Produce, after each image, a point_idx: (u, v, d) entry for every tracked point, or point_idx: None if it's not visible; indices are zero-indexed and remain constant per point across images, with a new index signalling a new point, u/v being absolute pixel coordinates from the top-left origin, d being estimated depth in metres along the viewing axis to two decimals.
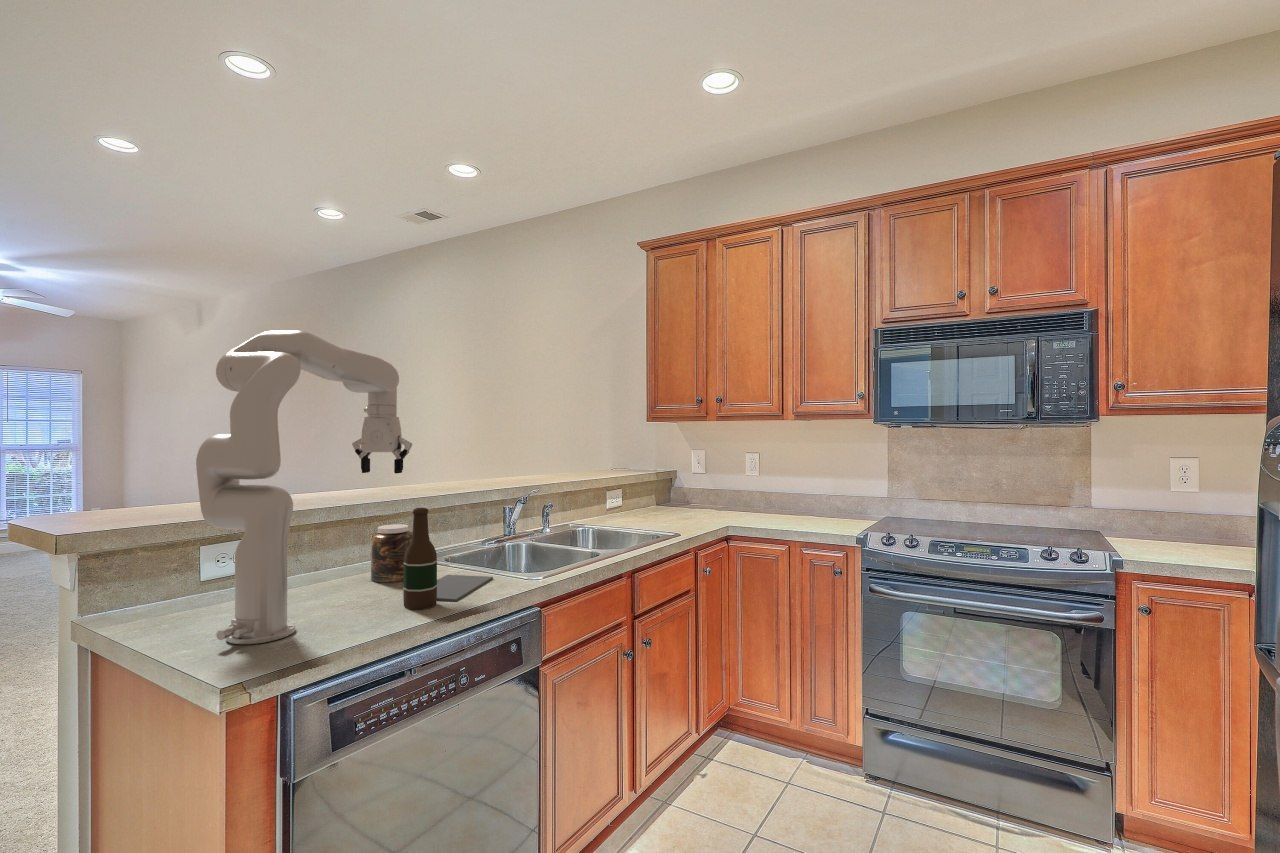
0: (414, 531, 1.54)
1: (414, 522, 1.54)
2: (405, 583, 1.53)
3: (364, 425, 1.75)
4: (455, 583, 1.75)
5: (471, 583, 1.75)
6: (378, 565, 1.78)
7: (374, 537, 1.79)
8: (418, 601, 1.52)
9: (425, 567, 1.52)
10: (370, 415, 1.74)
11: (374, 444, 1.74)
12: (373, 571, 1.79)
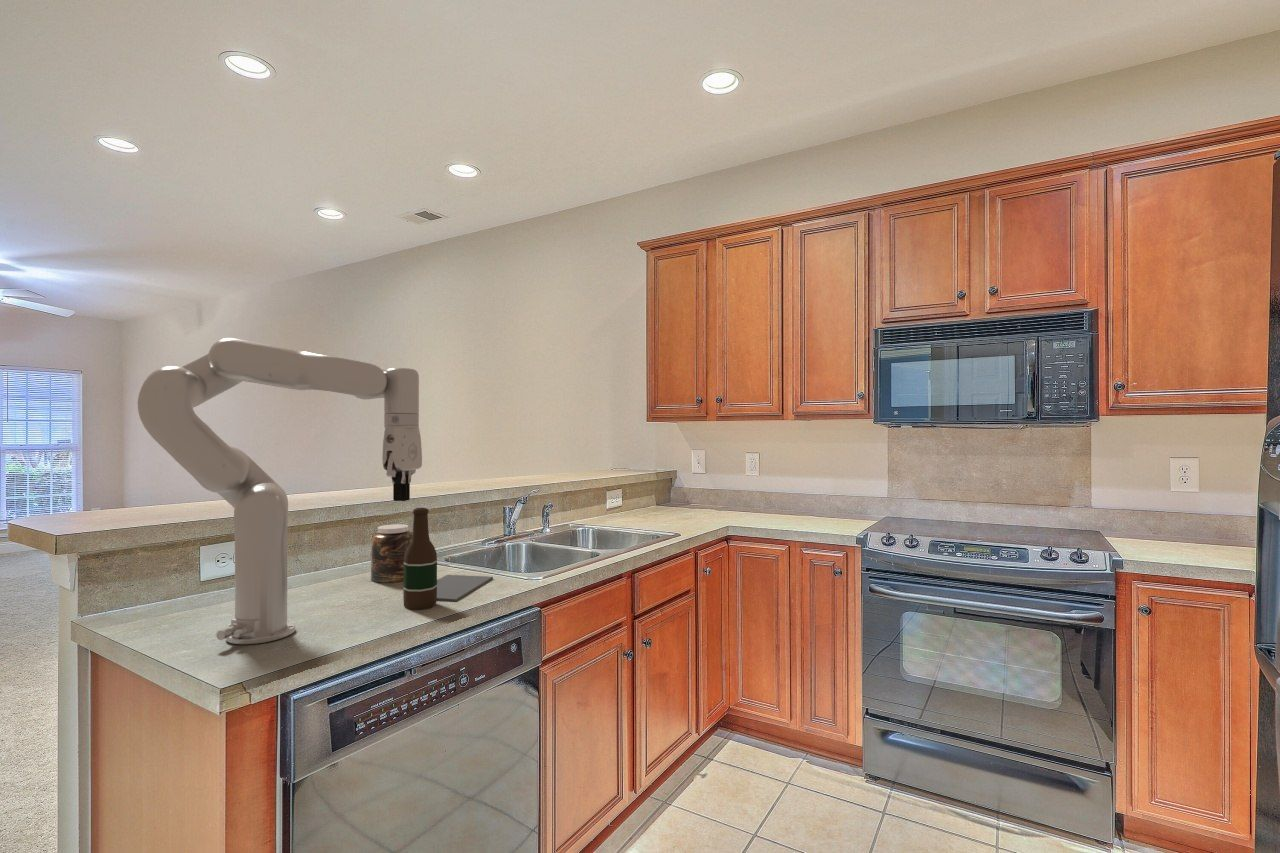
0: (414, 531, 1.54)
1: (414, 522, 1.54)
2: (405, 583, 1.53)
3: (402, 438, 1.42)
4: (455, 583, 1.75)
5: (471, 583, 1.75)
6: (378, 565, 1.78)
7: (374, 537, 1.79)
8: (418, 601, 1.52)
9: (425, 567, 1.52)
10: (411, 426, 1.44)
11: (411, 460, 1.45)
12: (373, 571, 1.79)
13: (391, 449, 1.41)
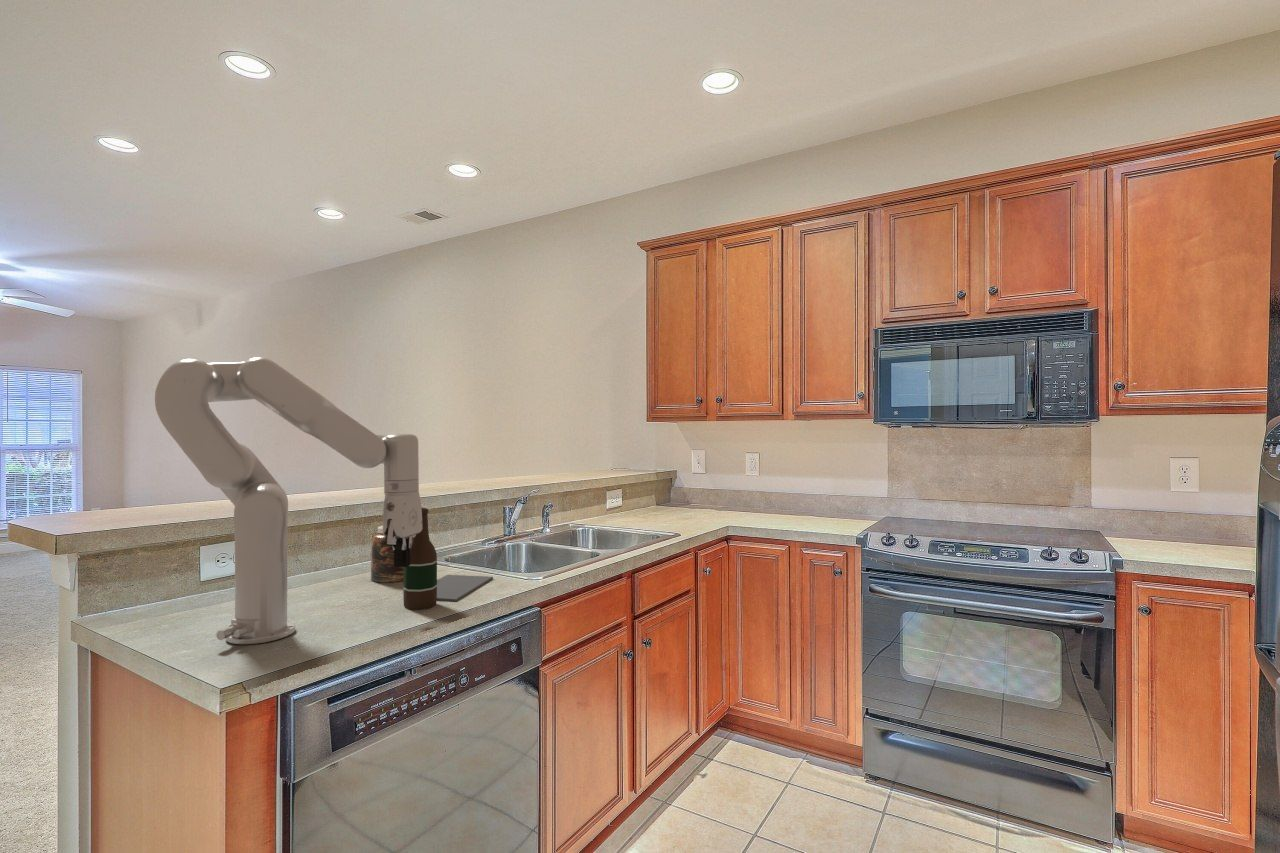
0: None
1: None
2: (405, 583, 1.53)
3: (403, 506, 1.42)
4: (455, 583, 1.75)
5: (471, 583, 1.75)
6: (378, 565, 1.78)
7: (374, 537, 1.79)
8: (418, 601, 1.52)
9: (425, 567, 1.52)
10: (411, 492, 1.44)
11: (412, 526, 1.45)
12: (373, 571, 1.79)
13: (391, 517, 1.41)
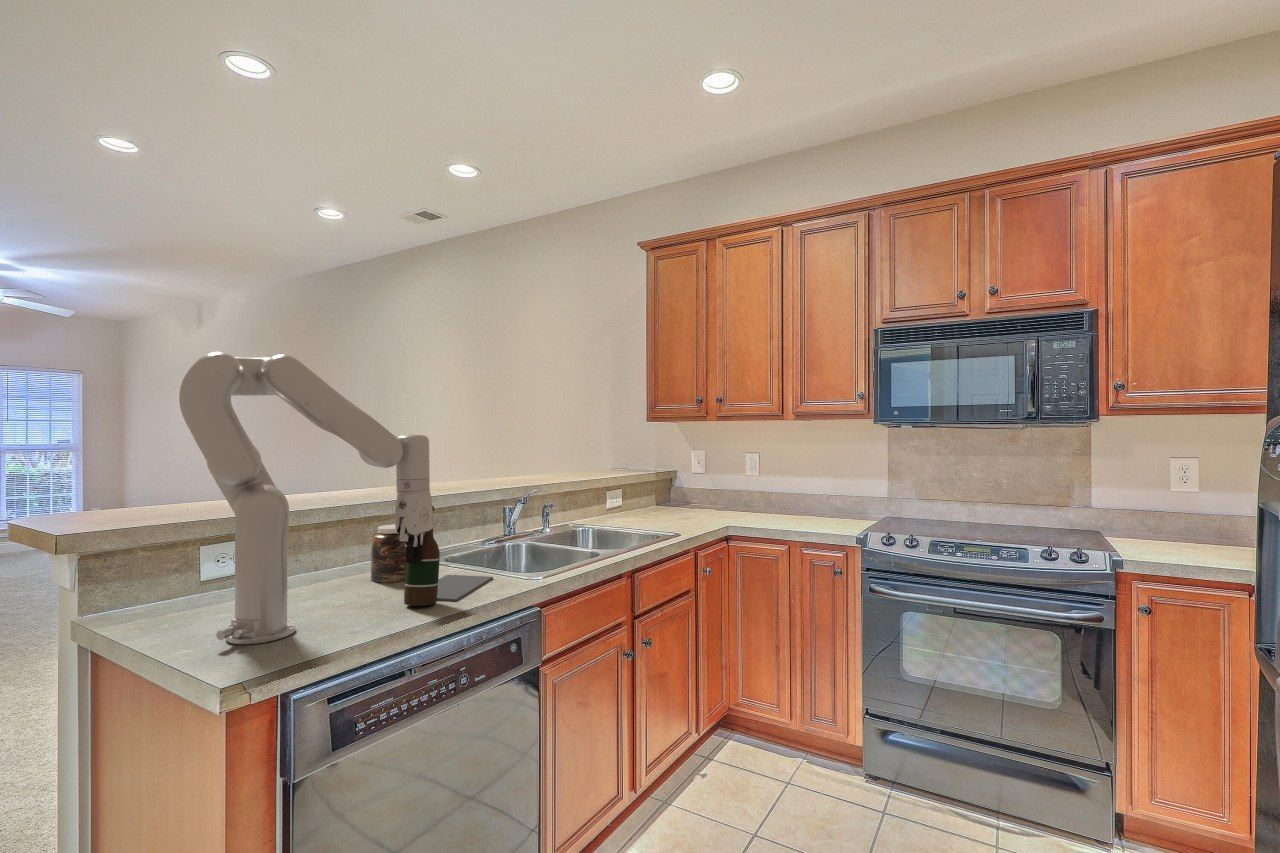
0: None
1: None
2: (407, 579, 1.54)
3: (414, 504, 1.47)
4: (455, 583, 1.75)
5: (471, 583, 1.75)
6: (378, 565, 1.78)
7: (374, 537, 1.79)
8: (419, 597, 1.52)
9: (428, 563, 1.54)
10: (423, 491, 1.49)
11: (423, 524, 1.50)
12: (373, 571, 1.79)
13: (403, 515, 1.46)
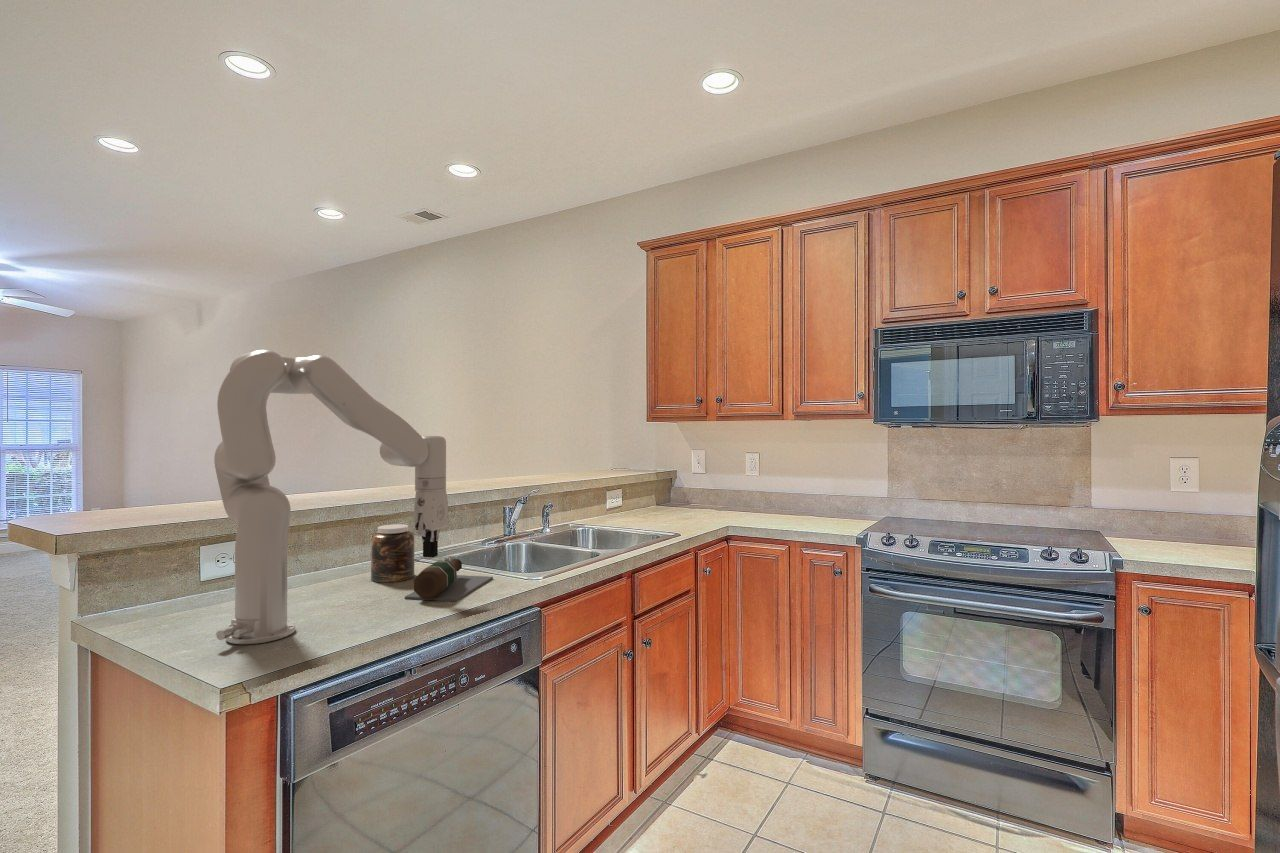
0: None
1: None
2: None
3: (432, 501, 1.56)
4: (455, 583, 1.75)
5: (471, 583, 1.75)
6: (378, 565, 1.78)
7: (374, 537, 1.79)
8: (434, 569, 1.61)
9: (449, 565, 1.68)
10: (440, 489, 1.58)
11: (439, 520, 1.59)
12: (373, 571, 1.79)
13: (422, 511, 1.55)
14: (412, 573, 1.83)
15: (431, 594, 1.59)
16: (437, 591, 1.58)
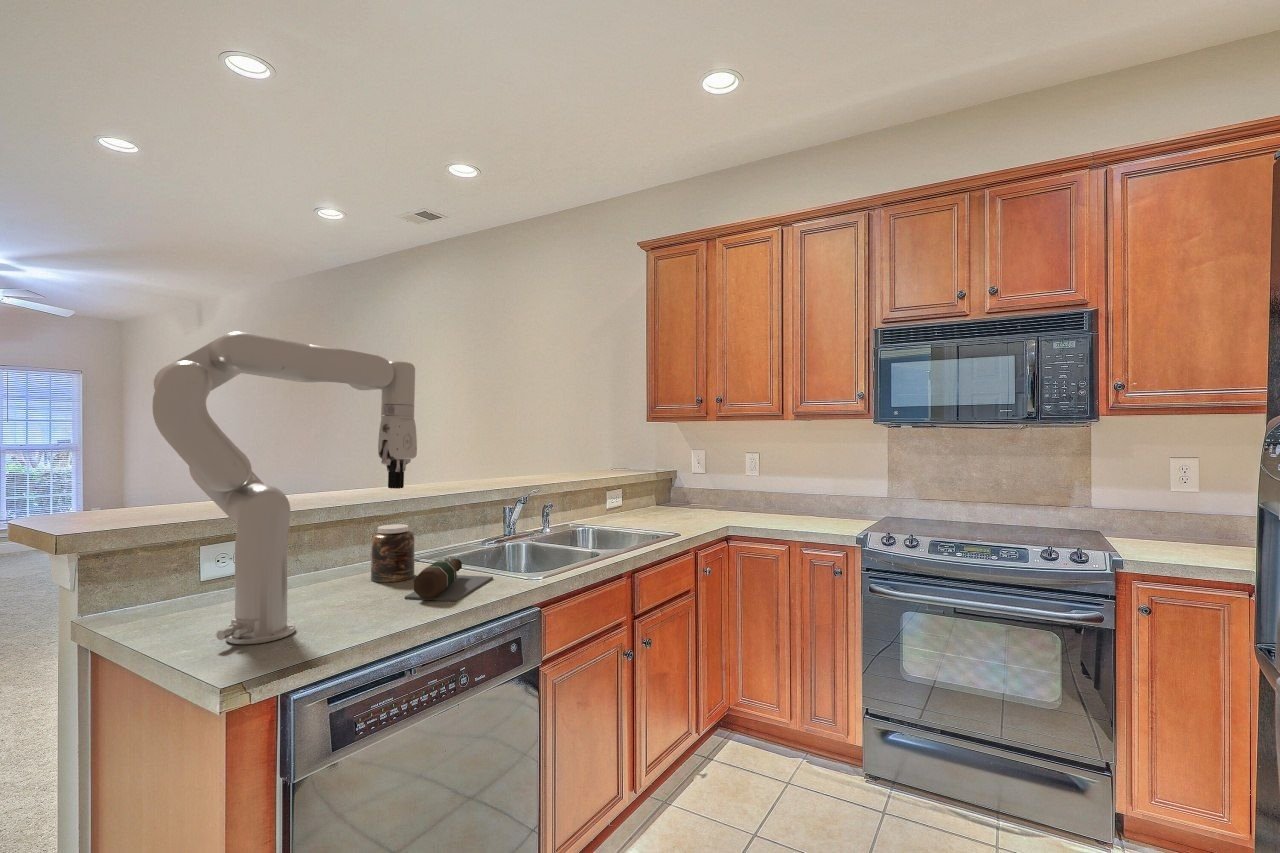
0: None
1: None
2: None
3: (397, 428, 1.49)
4: (455, 583, 1.75)
5: (471, 583, 1.75)
6: (378, 565, 1.78)
7: (374, 537, 1.79)
8: (434, 569, 1.61)
9: (449, 565, 1.68)
10: (406, 417, 1.51)
11: (406, 449, 1.52)
12: (373, 571, 1.79)
13: (386, 438, 1.48)
14: (412, 573, 1.83)
15: (430, 594, 1.59)
16: (437, 591, 1.58)
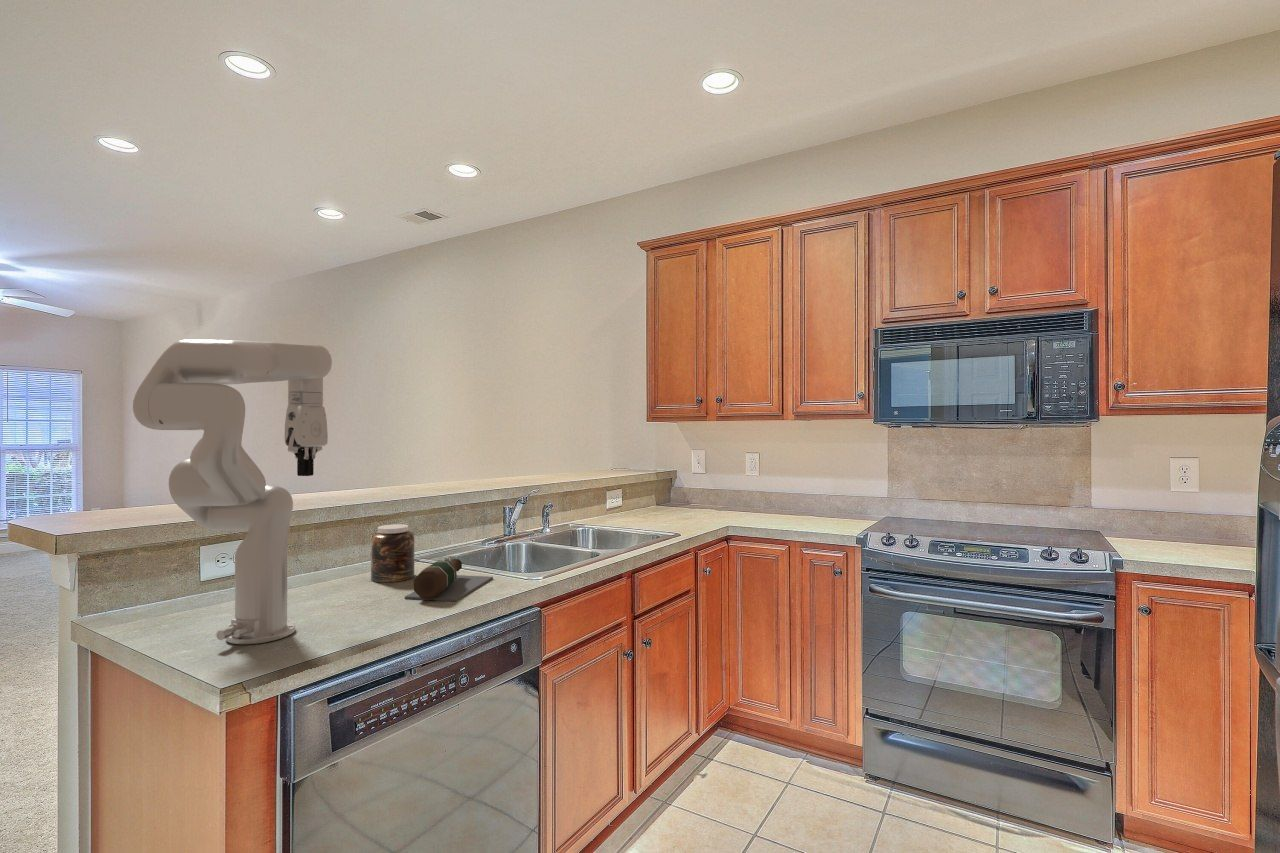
0: None
1: None
2: None
3: (304, 415, 1.49)
4: (455, 583, 1.75)
5: (471, 583, 1.75)
6: (378, 565, 1.78)
7: (374, 537, 1.79)
8: (434, 569, 1.61)
9: (449, 565, 1.68)
10: (313, 404, 1.51)
11: (314, 437, 1.53)
12: (373, 571, 1.79)
13: (292, 426, 1.48)
14: (412, 573, 1.83)
15: (431, 594, 1.59)
16: (437, 591, 1.58)
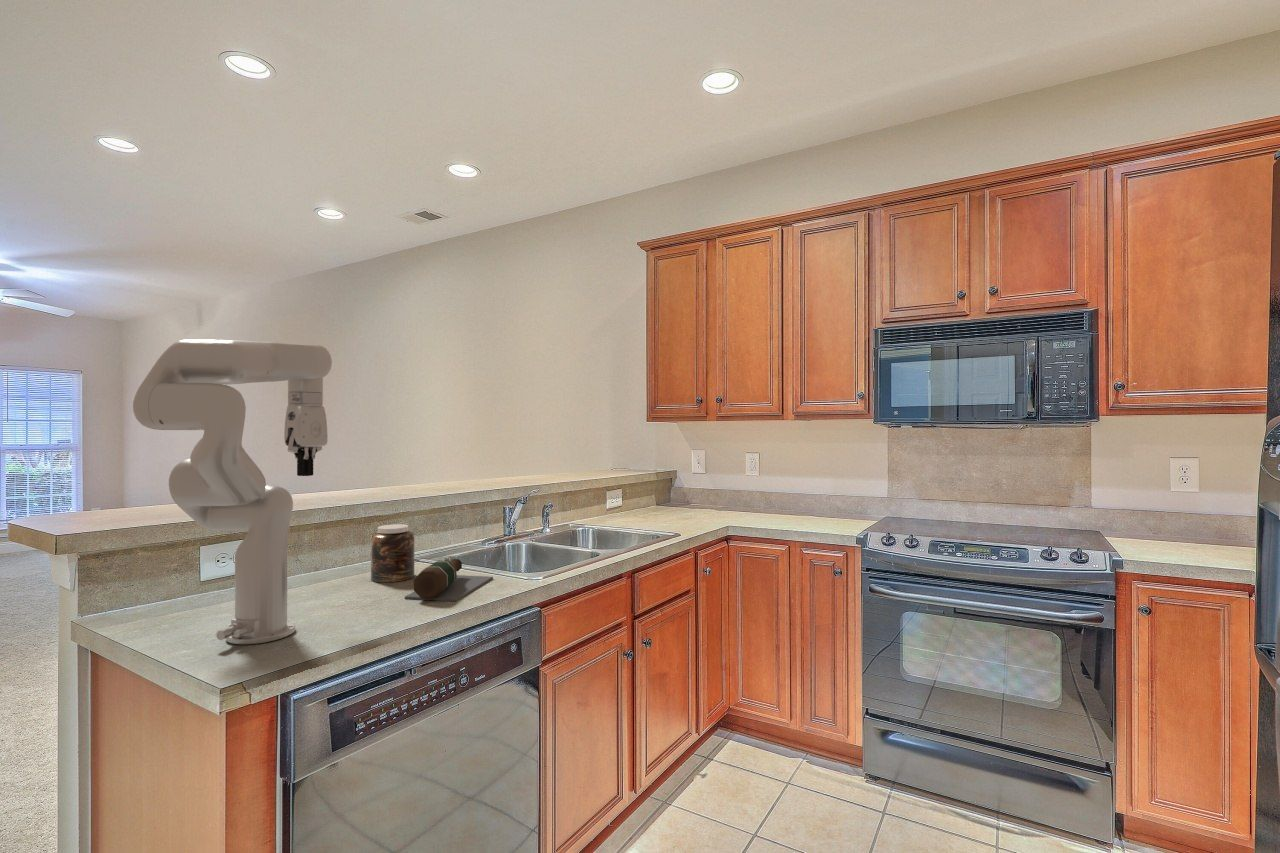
0: None
1: None
2: None
3: (304, 415, 1.49)
4: (455, 583, 1.75)
5: (471, 583, 1.75)
6: (378, 565, 1.78)
7: (374, 537, 1.79)
8: (434, 569, 1.61)
9: (449, 565, 1.68)
10: (313, 404, 1.51)
11: (314, 437, 1.53)
12: (373, 571, 1.79)
13: (292, 426, 1.48)
14: (412, 573, 1.83)
15: (430, 594, 1.59)
16: (437, 591, 1.58)
